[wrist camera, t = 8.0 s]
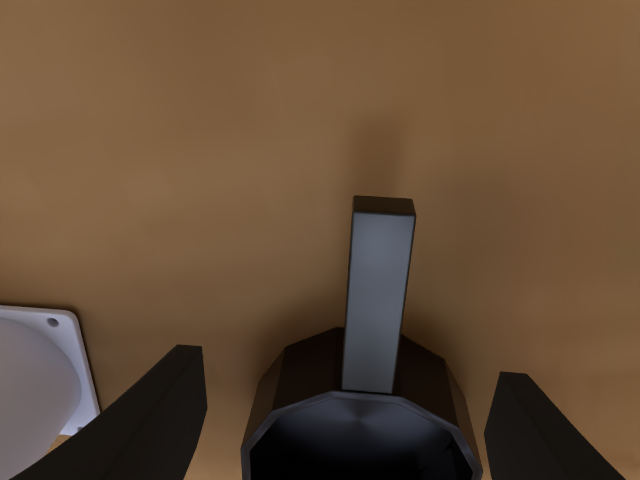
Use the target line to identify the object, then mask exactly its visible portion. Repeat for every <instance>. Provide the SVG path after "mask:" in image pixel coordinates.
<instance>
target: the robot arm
mask: <svg viewBox="0 0 640 480" xmlns="http://www.w3.org/2000/svg"><path fill="white" fill-rule="evenodd" d="M53 318H54V319H56V320H57V321H58V322H57V321H55V320H54V319H53ZM206 412H207V397H206V387H205V376H204V365H203V354H202V346H190V345H176V346H175V347H174V348H173V349H172V350H171V351H169V352H168V353H167V354H166V355H165V356H164V357H163V358H162V359H161V360H160V361H159V362H158V363H157V364H155V365H154V366H153V367H152V368H151V369H150V370H149V371H148V372H147V373H146V374H145V375H144V376H143V377H141V378H140V379H139V380H138V381H137V382H136V383H135V384H134V385H133V386H132V387H130V388H129V389H128V390H127V391H126V392H125V393H124V394H122V395H121V396H120V397H119V398H118V399H117V400H116V401H115V402H113V403H112V404H111V405H110V406H109V407H108V408H106V409H105V410H104V411H103V412H101V413H100V410H99V406H98V402H97V397H96V393H95V389H94V385H93V381H92V377H91V373H90V368H89V364H88V360H87V356H86V352H85V348H84V344H83V339H82V335H81V331H80V327H79V323H78V319H77V317H76V316H75V315H74V313H72V312H70V311H67V310H57V309H44V308H31V307H17V306H4V305H0V480H183V479H184V477H185V474H186V472H187V469H188V467H189V464H190V462H191V460H192V457H193V455H194V452H195V450H196V447H197V444H198V440H199V437H200V433H201V430H202V426H203V423H204V419H205V415H206ZM59 434H62V435H73V436H72V437H70V438H69V439H68V440H66V441H65V442H64V443H62V444H61V445H60V446H58V447H57V448H55V449H54V450H53V451H51V452H50V453H48V454H47V455H45V454H46V452H47V451H48V449H49V448H50V446H51V445H52V444H53V442H54V441H55V439H56V438H57V436H58V435H59ZM484 437H485V444H486V450H487V456H488V462H489V467H490V472H491V477H492V480H626V479H625V478H624V477H623V476H622V475H621V474H620V473H619V472H618V471H617V470H615V469H614V468H613V467H612V466H611V465H610V464H609V463H608V462H607V461H606V460H605V459H604V458H603V456H602V455H601V454H600V453H599V452H598V451H597V450H596V449H595V448H594V447H593V446H592V445H591V444H590V443H589V442H588V441H587V440H586V439H585V438H584V437H583V436H582V435H581V433H580V432H579V431H578V430H577V429H576V428H575V427H574V426H573V425H572V424H571V423H570V421H569V420H568V419H567V418H566V417H565V416H564V415H563V414H562V413H561V411H560V410H559V409H558V408H557V407H556V406H555V405H554V404H553V403H552V401H551V400H550V399H549V398H548V397H547V396H546V395H545V393H544V392H543V391H542V390H541V389H540V388H539V387H538V386H537V384H536V383H535V382H534V381H533V380H532V379H531V378H530V377H529V376H528V375H527V374H524V373H512V372H500V375H499V379H498V383H497V386H496V390H495V394H494V397H493V401H492V405H491V409H490V412H489V416H488V420H487V423H486V427H485V431H484ZM44 455H45V456H44ZM43 456H44V457H43Z"/></svg>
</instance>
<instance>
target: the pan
mask: <svg viewBox="0 0 640 480" xmlns="http://www.w3.org/2000/svg"><path fill="white" fill-rule="evenodd" d="M415 224H416V212H415V208H414V204H413V200H412V199H407V198H390V197H373V196H356V195H355V196H354V197H353V204H352V220H351V235H350V250H349V265H348V280H347V295H346V310H345V325H344V328H341V327H336V328H333V329H331V330H328V331H326V332H323V333H320V334H318V335H315V336H312V337H310V338H307V339H305V340H302V341H299V342H297V343H294V344H292V345H289V346H287V347H285V349H284V350H283V351H282V352H281V354H280V355H279V356H278V358H277V359H276V360H275V362H274V363H273V364H272V366H271V367H270V368H269V369H268V371H267V372H266V373H265V375H264V376H263V377H262V379H261V380H260V381H259V384H258V387H257V391H256V395H255V398H254V402H253V406H252V409H251V413H250V416H249V420H248V424H247V427H246V431H245V434H244V438H243V442H242V445H241V465H242V480H481V478H482V474H483V468H482V464H481V460H480V456H479V452H478V448H477V444H476V440H475V436H474V432H473V428H472V424H471V420H470V416H469V412H468V408H467V404H466V400H465V398H464V396H463V394H462V392H461V390H460V388H459V386H458V384H457V383H456V381H455V379H454V377H453V375H452V373H451V371H450V369H449V367H448V366H447V364H446V362H445V360H444V359H443V358H441V357H439V356H438V355H436V354H434V353H432V352H431V351H429V350H427V349H425V348H424V347H422V346H420V345H418V344H417V343H415V342H413V341H411V340H410V339H408V338H406V337H404V336H403V335H401V329H402V322H403V314H404V306H405V299H406V291H407V284H408V276H409V269H410V261H411V254H412V246H413V239H414V231H415Z"/></svg>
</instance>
